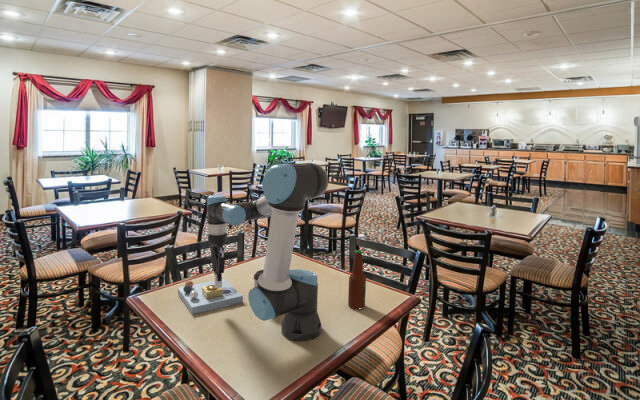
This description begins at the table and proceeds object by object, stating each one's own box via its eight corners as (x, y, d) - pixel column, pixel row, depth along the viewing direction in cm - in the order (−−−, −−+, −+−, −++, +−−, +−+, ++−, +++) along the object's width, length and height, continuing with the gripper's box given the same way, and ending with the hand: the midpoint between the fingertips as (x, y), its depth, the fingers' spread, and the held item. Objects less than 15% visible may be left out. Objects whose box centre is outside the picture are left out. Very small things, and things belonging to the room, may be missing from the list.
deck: (243, 302, 163) (242, 295, 163) (192, 314, 151) (191, 307, 151) (224, 284, 183) (224, 278, 182) (177, 294, 171) (177, 287, 170)
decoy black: (192, 293, 165) (192, 285, 164) (184, 294, 163) (184, 287, 162) (190, 290, 168) (190, 283, 167) (182, 292, 166) (182, 284, 165)
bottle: (368, 308, 160) (370, 252, 156) (354, 311, 156) (356, 254, 152) (358, 301, 166) (360, 247, 162) (344, 305, 162) (346, 250, 158)
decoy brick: (194, 288, 170) (194, 281, 169) (186, 290, 168) (186, 282, 167) (192, 285, 173) (191, 278, 172) (184, 287, 171) (184, 280, 170)
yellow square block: (222, 295, 162) (222, 287, 162) (206, 299, 158) (206, 291, 158) (217, 290, 168) (217, 282, 168) (202, 293, 164) (201, 285, 164)
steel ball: (199, 299, 158) (198, 291, 158) (190, 301, 156) (190, 293, 156) (196, 296, 161) (196, 288, 161) (188, 298, 159) (188, 290, 159)
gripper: (231, 235, 148) (232, 291, 152) (220, 228, 159) (221, 280, 163) (213, 237, 144) (214, 295, 148) (203, 230, 155) (204, 283, 158)
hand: (218, 287), depth 155 cm, fingers closed
